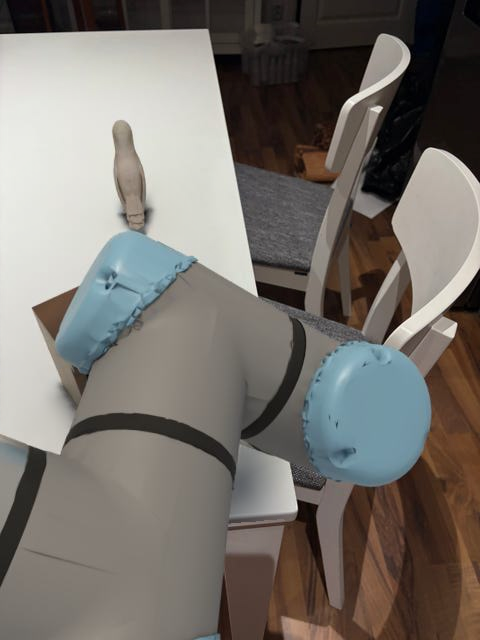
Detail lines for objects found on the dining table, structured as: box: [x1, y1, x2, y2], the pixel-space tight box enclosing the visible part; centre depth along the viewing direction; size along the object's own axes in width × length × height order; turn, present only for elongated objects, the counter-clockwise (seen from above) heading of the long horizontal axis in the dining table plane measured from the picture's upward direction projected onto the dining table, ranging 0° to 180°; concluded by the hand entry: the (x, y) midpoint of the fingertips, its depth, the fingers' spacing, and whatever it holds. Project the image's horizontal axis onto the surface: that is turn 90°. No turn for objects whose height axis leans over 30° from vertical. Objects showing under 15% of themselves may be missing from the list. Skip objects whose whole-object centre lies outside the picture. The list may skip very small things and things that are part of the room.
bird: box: [111, 119, 149, 230], centre depth 84 cm, size 5×14×15 cm, turn 13°
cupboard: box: [31, 285, 89, 408], centre depth 61 cm, size 10×16×14 cm, turn 128°
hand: (163, 382), depth 61 cm, fingers closed on sliding door, 7 cm apart
